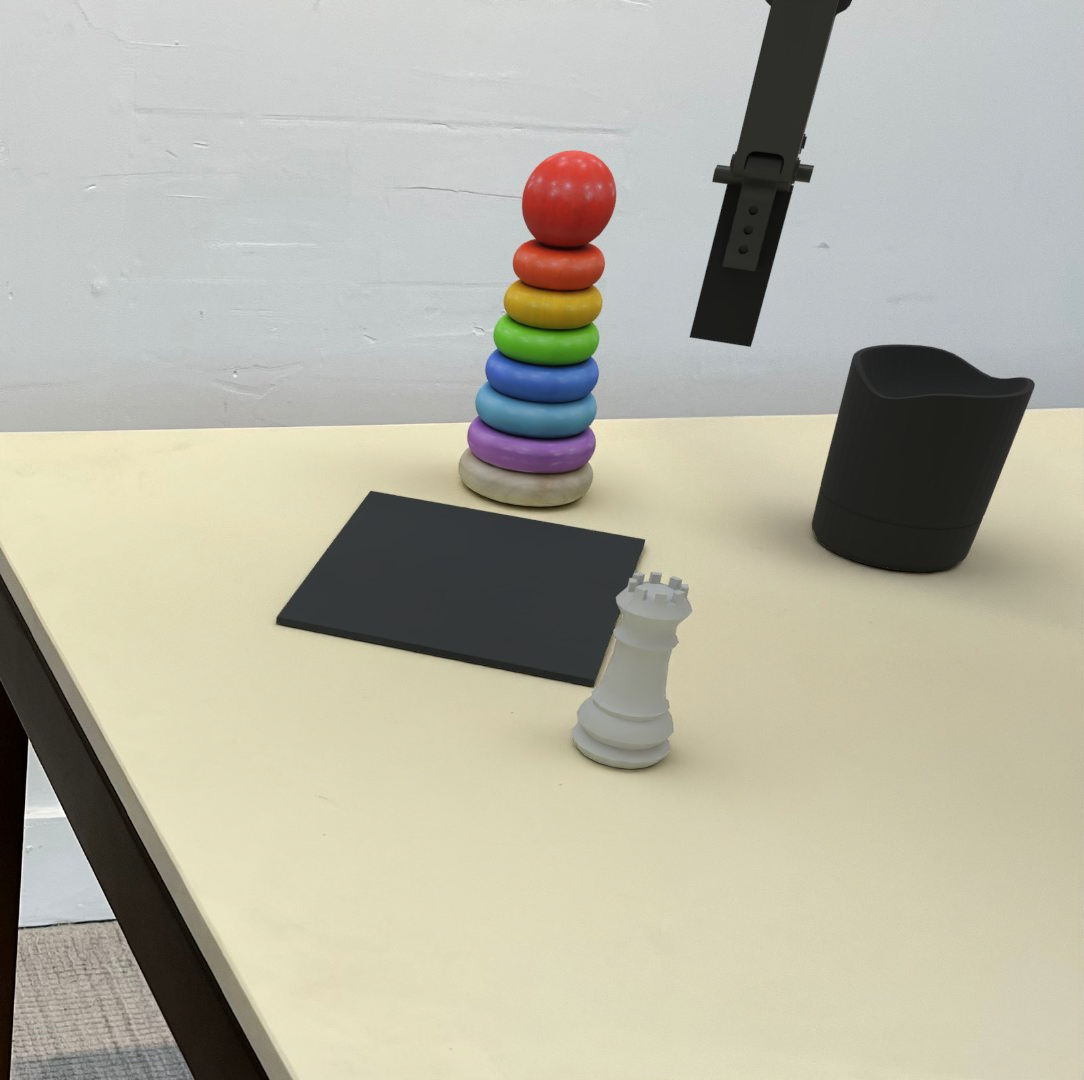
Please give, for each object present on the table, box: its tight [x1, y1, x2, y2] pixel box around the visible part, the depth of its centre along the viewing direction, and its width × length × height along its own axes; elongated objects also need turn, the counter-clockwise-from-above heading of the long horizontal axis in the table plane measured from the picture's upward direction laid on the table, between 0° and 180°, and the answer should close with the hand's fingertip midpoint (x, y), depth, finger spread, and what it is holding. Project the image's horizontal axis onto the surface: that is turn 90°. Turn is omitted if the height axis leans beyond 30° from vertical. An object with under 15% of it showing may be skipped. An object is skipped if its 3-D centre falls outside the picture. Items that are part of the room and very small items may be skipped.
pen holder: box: [811, 343, 1036, 573], centre depth 103 cm, size 9×9×10 cm
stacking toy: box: [457, 149, 617, 507], centre depth 105 cm, size 8×8×19 cm
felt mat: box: [275, 490, 646, 688], centre depth 99 cm, size 16×20×1 cm
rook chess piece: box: [570, 571, 693, 770], centre depth 81 cm, size 4×4×8 cm
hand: (721, 337), depth 83 cm, fingers closed
